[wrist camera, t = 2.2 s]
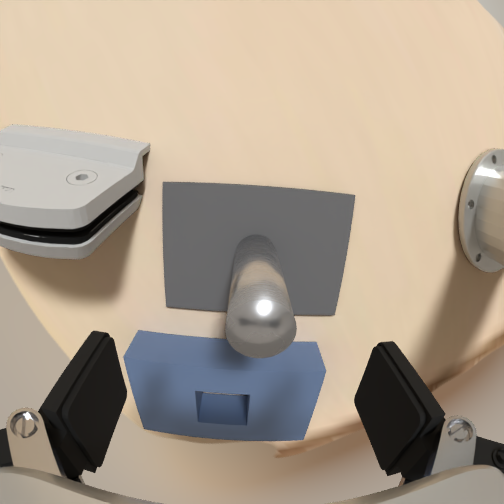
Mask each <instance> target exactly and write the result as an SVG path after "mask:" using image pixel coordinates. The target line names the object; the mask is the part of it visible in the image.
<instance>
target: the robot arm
mask: <svg viewBox="0 0 504 504" xmlns="http://www.w3.org/2000/svg"><path fill="white" fill-rule="evenodd" d="M458 223H459V235H460V241H461V245H462V248H463V251H464V253H465V255H466V257H467V259H468V260H469V261H470V262H471V264H472V265H473V266H475V267H477V268H478V269H479V270H481V271H484V272H490V273H493V272H496V271H499V270H501V269H502V268H504V149H490V150H487V151H485V152H483V153H482V154H481V155H480V156H479V157H478V158H477V159H476V160H475V161H474V163H473V164H472V166H471V168H470V169H469V172H468V174H467V176H466V178H465V181H464V185H463V188H462V192H461V197H460V203H459V215H458ZM126 398H127V389H126V386H125V382H124V379H123V375H122V371H121V367H120V363H119V359H118V355H117V351H116V347H115V342H114V339H113V338H111V337H110V335H109V334H108V333H105V332H99V331H92V332H91V334H90V335H89V336H88V338H87V339H86V340H85V342H84V343H83V345H82V346H81V347H80V349H79V350H78V352H77V353H76V355H75V356H74V357H73V359H72V360H71V362H70V363H69V365H68V366H67V367H66V369H65V370H64V372H63V373H62V375H61V377H60V378H59V379H58V381H57V382H56V384H55V386H54V387H53V389H52V390H51V392H50V393H49V395H48V397H47V398H46V400H45V401H44V403H43V404H42V406H41V407H40V409H39V411H38V412H37V411H36V410H34V409H32V408H21V409H18V410H16V411H14V412H13V413H11V415H10V416H9V417H8V420H7V423H6V424H7V425H6V428H5V429H1V430H0V504H162V503H155V502H151V501H146V500H141V499H136V498H132V497H127V496H123V495H120V494H116V493H112V492H108V491H105V490H101V489H97V488H94V487H91V486H88V485H85V483H84V481H83V479H82V476H81V475H82V472H83V470H87V471H90V472H93V473H95V472H96V469H97V467H101V466H102V464H103V461H104V458H105V455H106V452H107V449H108V446H109V444H110V441H111V438H112V435H113V432H114V429H115V427H116V424H117V421H118V419H119V416H120V414H121V411H122V409H123V406H124V403H125V401H126ZM354 403H355V406H356V409H357V411H358V413H359V416H360V418H361V420H362V423H363V425H364V428H365V430H366V432H367V435H368V437H369V440H370V442H371V445H372V447H373V450H374V452H375V455H376V457H377V460H378V462H379V465H380V467H381V469H382V470H385V471H386V474H387V476H389V475H393V474H396V473H399V472H401V475H402V479H401V481H400V484H399V486H398V487H395V488H392V489H388V490H384V491H381V492H377V493H374V494H370V495H366V496H362V497H358V498H353V499H349V500H344V501H339V502H333V503H328V504H504V444H501V443H498V442H494V441H491V440H487V439H484V438H481V437H478V436H476V428H475V426H474V424H473V423H472V422H471V421H470V420H469V419H467V418H465V417H462V416H451V417H449V418H448V419H447V420H445V418H444V415H445V413H444V411H443V410H442V408H441V407H440V405H439V404H438V402H437V401H436V399H435V398H434V396H433V395H432V393H431V392H430V391H429V389H428V388H427V386H426V385H425V383H424V382H423V381H422V379H421V378H420V376H419V375H418V374H417V372H416V371H415V369H414V368H413V367H412V365H411V364H410V362H409V361H408V360H407V358H406V357H405V356H404V354H403V353H402V352H401V350H400V349H399V348H398V346H397V345H396V344H395V343H394V342H393V341H390V342H380V343H378V344H377V346H376V347H374V348H373V350H372V353H371V355H370V358H369V361H368V364H367V367H366V369H365V372H364V375H363V377H362V380H361V382H360V385H359V387H358V390H357V392H356V395H355V398H354Z"/></svg>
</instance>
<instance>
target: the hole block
mask: <svg viewBox="0 0 504 504" xmlns="http://www.w3.org/2000/svg"><path fill="white" fill-rule="evenodd" d="M124 362H125V366H126V370H127V374H128V378H129V381H130V385H131V389H132V392H133V396H134V399H135V402H136V406H137V409H138V412H139V415H140V418H141V421H142V424H143V427H144V429H147V430H153V431H158V432H164V433H170V434H177V435H184V436H192V437H201V438H211V439H224V440H243V441H291V440H303V439H304V437H305V434H306V431H307V428H308V426H309V423H310V420H311V417H312V414H313V411H314V408H315V405H316V402H317V399H318V396H319V393H320V390H321V386H322V383H323V380H324V377H325V373H326V369H325V366H324V363H323V360H322V357H321V354H320V351H319V348H318V345H317V342H292V343H291V344H290V346H289V347H288V348H287V349H286V350H284V351H283V352H281V353H280V354H277V355H275V356H272V357H268V358H252V357H248V356H245V355H243V354H241V353H239V352H237V351H236V350H235V349H234V348H233V347H232V346H231V345H230V344H229V342H228V340H227V339H217V338H204V337H193V336H182V335H173V334H164V333H156V332H148V331H140V330H138V332H137V333H136V335H135V337H134V339H133V341H132V342H131V344H130V346H129V348H128V350H127V351H126V353H125V355H124ZM203 392H214V393H227V394H246V395H247V396H239V395H223V394H210V393H203Z"/></svg>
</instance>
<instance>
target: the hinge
mask: <svg viewBox="0 0 504 504" xmlns="http://www.w3.org/2000/svg"><path fill="white" fill-rule="evenodd" d="M148 151H150V143H145V142H140V141H135V140H130V139H124V138H118V137H113V136H107V135H101V134H94V133H88V132H81V131H73V130H66V129H57V128H48V127H39V126H28V125H15V124H12V125H10V126H8V127H6V128H4V129H2V130H1V131H0V246H2V247H4V248H7V249H10V250H13V251H16V252H20V253H24V254H28V255H33V256H39V257H46V258H57V259H82V258H85V257H87V256H89V255H90V254H91V253H92V252H93V251H94V250H95V249H96V248H97V247H98V246H99V245H100V244H101V243H102V242H103V241H104V240H105V239H106V238H107V237H108V236H109V235H110V234H111V233H112V232H114V231H115V230H116V229H117V228H118V227H119V226H120V225H121V224H122V223H123V222H124V221H125V220H126V219H127V218H128V217H129V216H130V215H132V214H133V213H134V212H135V211H136V210H137V209H138V207H139V205H140V202H141V199H142V195H139V194H138V191H135V190H133V189H135V188H136V187H137V186H138V184H139V183H140V182H142V181H143V180H144V174H143V160H142V156H143V155H145V154H146V153H147V152H148Z"/></svg>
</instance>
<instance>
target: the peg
mask: <svg viewBox="0 0 504 504" xmlns="http://www.w3.org/2000/svg"><path fill="white" fill-rule="evenodd" d="M296 329H297V328H296V321H295V318H294V314H293V310H292V307H291V303H290V299H289V296H288V292H287V288H286V285H285V281H284V277H283V274H282V270H281V267H280V263H279V260H278V256H277V253H276V249H275V246H274V244H273V243H272V241H271V240H270V239H268V238H267V237H265V236H262V235H249V236H247V237H245V238H243V239H242V240H241V241H240V242H239V244H238V245H237V248H236V252H235V259H234V266H233V274H232V281H231V288H230V296H229V304H228V311H227V319H226V327H225V333H226V337H227V340H228V342H229V344H230V345H231V346H232V347H233V348H234V349H235V350H236V351H237V352H239V353H241V354H243V355H245V356H248V357H252V358H268V357H272V356H275V355H277V354H280V353H281V352H283V351H284V350H286V349H287V348H288V347H289V346H290V344H291V343H292V342H293V340H294V338H295V335H296Z"/></svg>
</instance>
